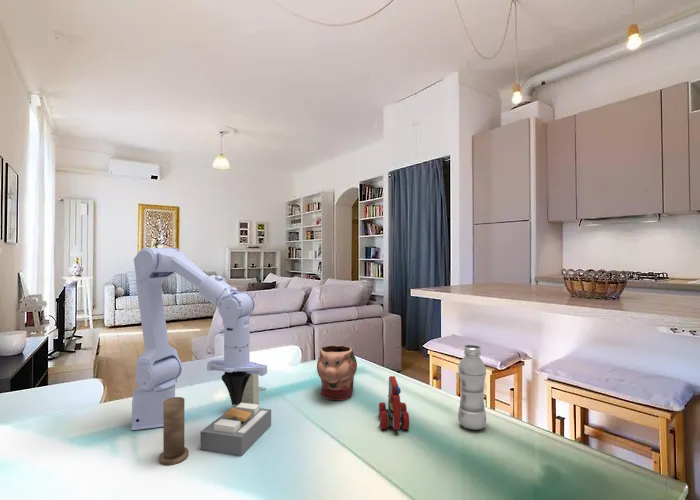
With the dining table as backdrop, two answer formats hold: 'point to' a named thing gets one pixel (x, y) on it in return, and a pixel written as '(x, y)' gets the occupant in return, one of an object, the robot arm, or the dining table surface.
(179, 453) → the walnut post
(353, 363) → the decorative planter
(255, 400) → the skincare box
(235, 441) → the switch box
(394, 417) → the toy fire truck
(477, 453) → the dining table surface
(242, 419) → the breaker paddle
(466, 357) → the plastic bottle
